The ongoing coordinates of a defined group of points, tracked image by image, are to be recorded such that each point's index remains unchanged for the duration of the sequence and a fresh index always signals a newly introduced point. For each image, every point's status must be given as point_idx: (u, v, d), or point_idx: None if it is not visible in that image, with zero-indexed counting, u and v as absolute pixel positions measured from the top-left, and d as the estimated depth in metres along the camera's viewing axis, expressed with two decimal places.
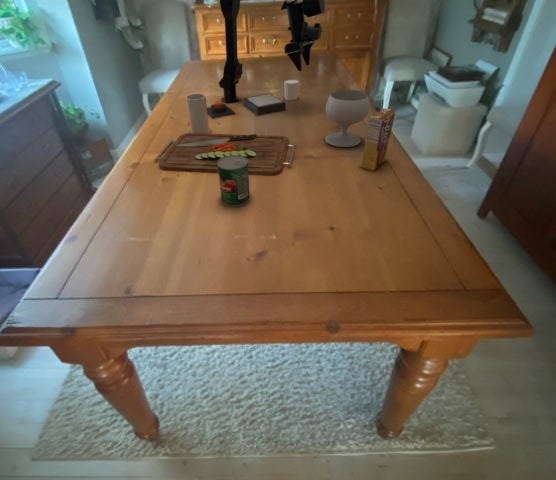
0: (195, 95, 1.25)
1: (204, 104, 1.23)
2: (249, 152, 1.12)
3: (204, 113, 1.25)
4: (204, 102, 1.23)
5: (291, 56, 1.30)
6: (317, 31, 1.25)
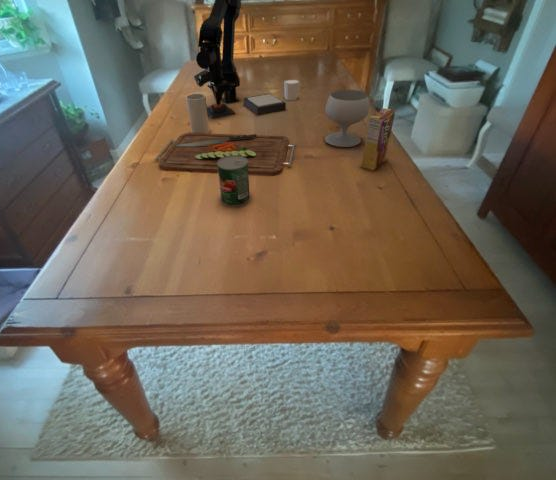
0: (195, 95, 1.25)
1: (204, 104, 1.23)
2: (249, 152, 1.12)
3: (204, 113, 1.25)
4: (204, 102, 1.23)
5: None
6: None
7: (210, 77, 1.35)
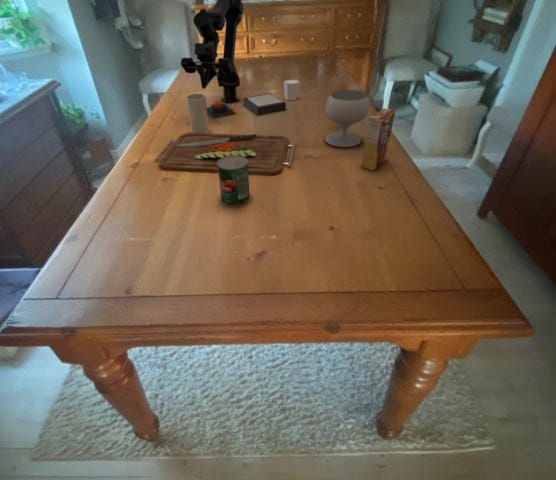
0: (195, 95, 1.25)
1: (204, 104, 1.23)
2: (249, 152, 1.12)
3: (204, 113, 1.25)
4: (204, 102, 1.23)
5: None
6: (194, 45, 1.21)
7: (212, 53, 1.25)
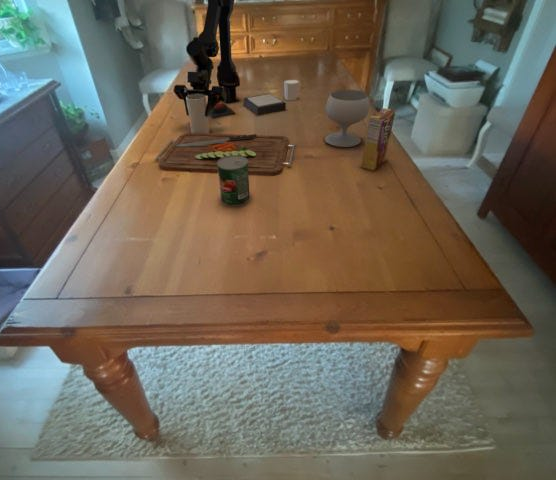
0: (195, 95, 1.25)
1: (204, 104, 1.23)
2: (249, 152, 1.12)
3: (204, 113, 1.25)
4: (204, 102, 1.23)
5: None
6: (187, 73, 1.19)
7: (205, 81, 1.23)
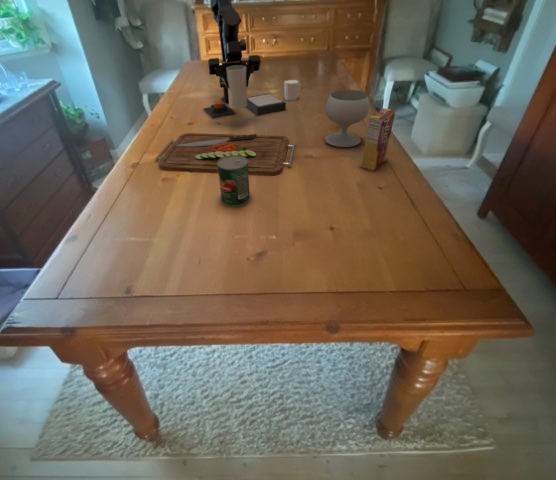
0: (231, 67, 1.25)
1: (245, 74, 1.24)
2: (249, 152, 1.12)
3: (245, 83, 1.25)
4: (245, 72, 1.23)
5: (220, 76, 1.27)
6: (227, 44, 1.18)
7: None
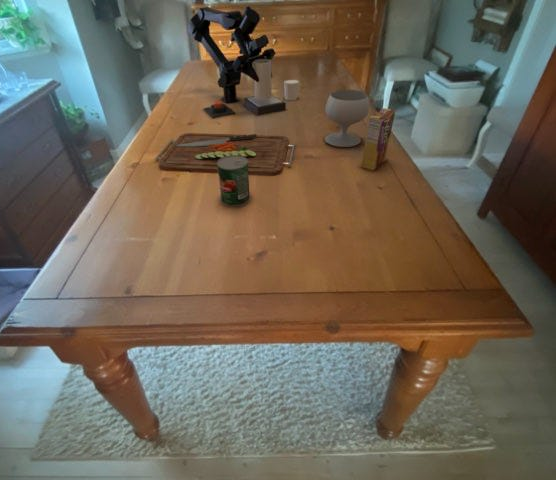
0: (255, 62, 1.35)
1: None
2: (249, 152, 1.12)
3: None
4: None
5: (245, 72, 1.36)
6: (256, 40, 1.28)
7: None
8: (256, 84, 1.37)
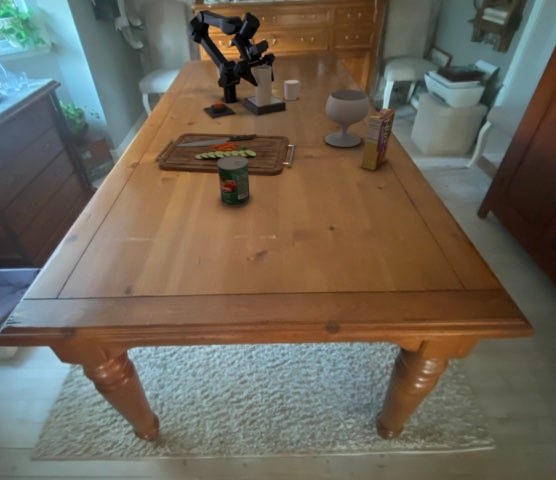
0: (255, 68, 1.37)
1: None
2: (249, 152, 1.12)
3: None
4: None
5: (244, 77, 1.36)
6: (256, 45, 1.30)
7: None
8: (257, 90, 1.39)
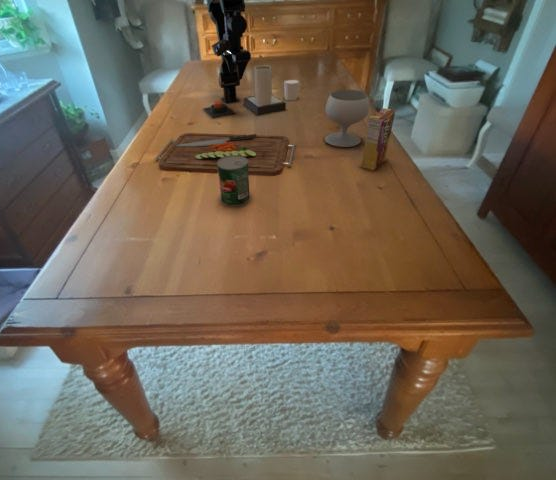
0: (255, 68, 1.37)
1: None
2: (249, 152, 1.12)
3: None
4: None
5: None
6: None
7: (229, 46, 1.29)
8: (257, 90, 1.39)
